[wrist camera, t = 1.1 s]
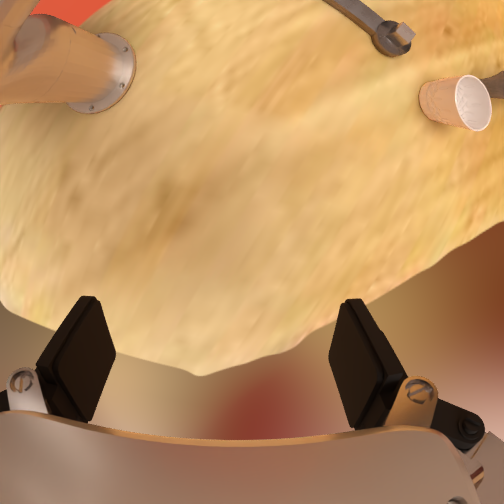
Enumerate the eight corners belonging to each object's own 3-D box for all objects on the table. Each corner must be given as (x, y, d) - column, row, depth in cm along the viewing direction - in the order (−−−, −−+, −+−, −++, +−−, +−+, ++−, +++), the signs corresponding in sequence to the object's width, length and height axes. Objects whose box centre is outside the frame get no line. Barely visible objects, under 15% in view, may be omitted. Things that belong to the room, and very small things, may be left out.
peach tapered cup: (452, 126, 36) (493, 133, 27) (417, 123, 37) (457, 129, 28) (449, 81, 33) (489, 80, 24) (412, 75, 33) (452, 70, 24)
